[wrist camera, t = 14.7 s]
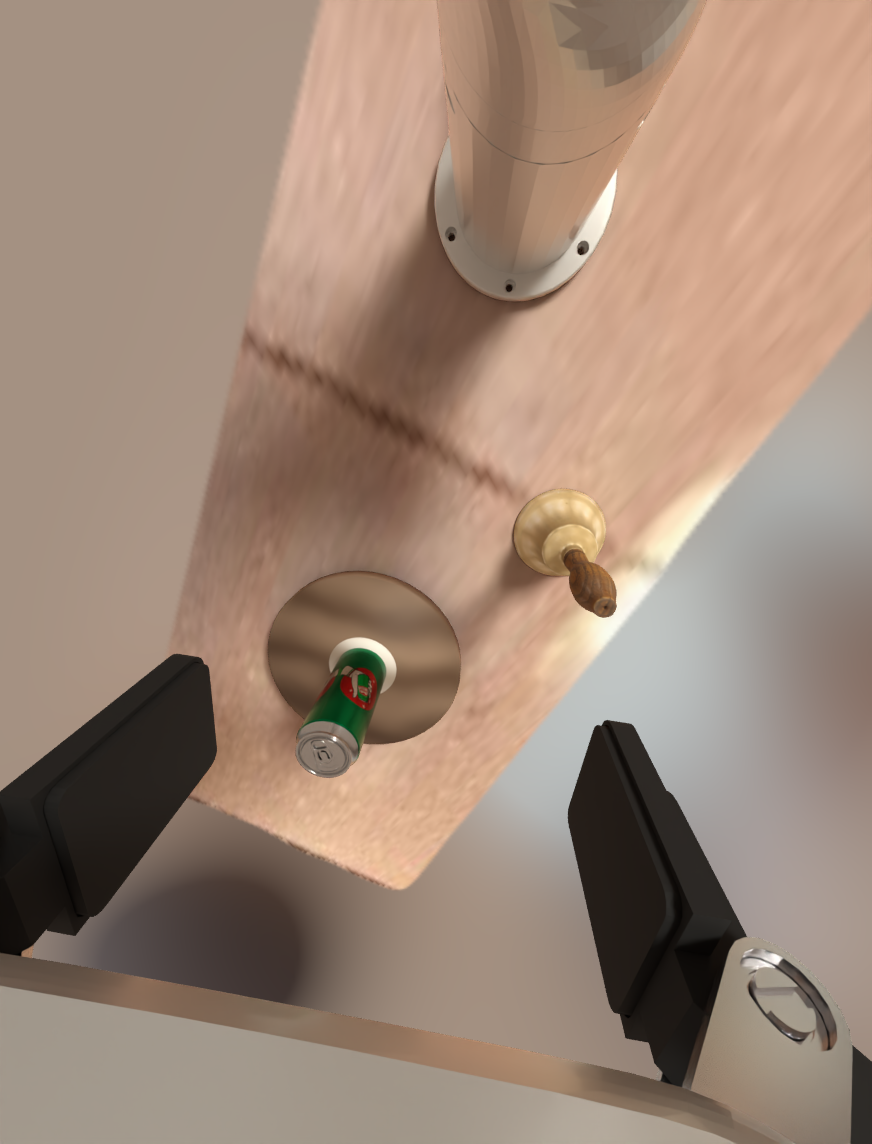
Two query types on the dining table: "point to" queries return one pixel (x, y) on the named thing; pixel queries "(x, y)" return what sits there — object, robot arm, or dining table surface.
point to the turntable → (378, 623)
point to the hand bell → (567, 545)
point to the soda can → (341, 714)
